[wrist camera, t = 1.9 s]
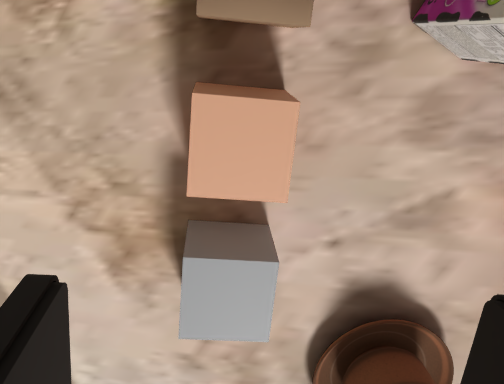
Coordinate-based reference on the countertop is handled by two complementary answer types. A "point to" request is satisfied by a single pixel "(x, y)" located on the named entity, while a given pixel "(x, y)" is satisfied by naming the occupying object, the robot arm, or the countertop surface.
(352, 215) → the countertop surface
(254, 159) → the terracotta block
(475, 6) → the candy bar box
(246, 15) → the walnut block
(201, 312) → the slate grey block
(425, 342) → the cup and saucer
